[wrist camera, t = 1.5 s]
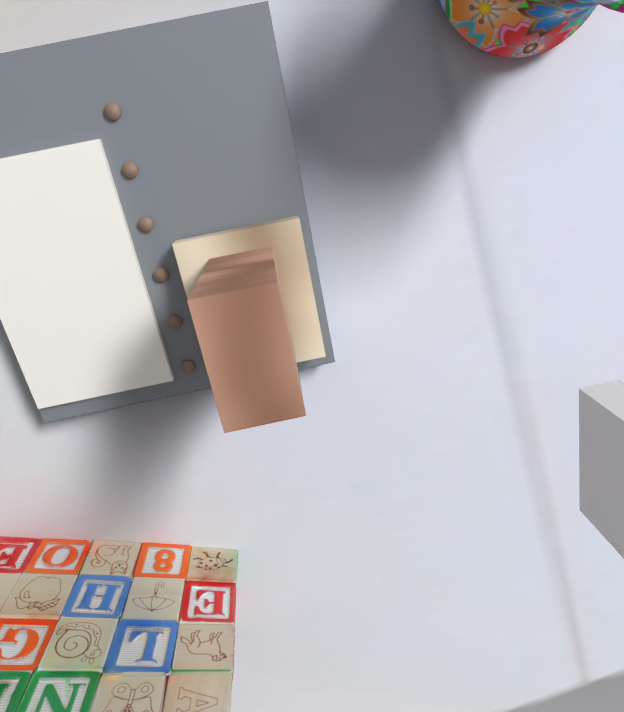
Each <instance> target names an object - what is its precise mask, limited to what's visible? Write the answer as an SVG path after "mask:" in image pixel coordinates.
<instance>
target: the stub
mask: <svg viewBox="0 0 624 712" xmlns="http://www.w3.org/2000/svg"><path fill="white" fill-rule="evenodd" d="M172 246H173V249H174V253H175V257H176V260H177V264H178V267H179V271H180V274H181V278H182V281H183V285H184V289H185V292H186V296H187V299H188V300H187V302H188V306H189V309H190V313H191V316H192V320H193V323H194V327H195V331H196V334H197V338H198V341H199V345H200V348H201V352H202V355H203V359H204V362H205V366H206V370H207V373H208V377H209V380H210V384H211V387H212V391H213V394H214V398H215V401H216V405H217V409H218V412H219V416H220V419H221V423H222V426H223V430H224V433H227V432H232V431H236V430H241V429H246V428H250V427H255V426H260V425H265V424H269V423H274V422H279V421H283V420H288V419H293V418H298V417H302V416H306V414H305V408H304V402H303V397H302V391H301V385H300V380H299V374H298V368H297V362H302V361H307V360H312V359H316V358H321V357H326V354H325V349H324V344H323V339H322V334H321V328H320V323H319V318H318V313H317V308H316V302H315V297H314V292H313V287H312V281H311V276H310V271H309V266H308V261H307V255H306V250H305V245H304V240H303V235H302V229H301V224H300V219H299V217H298V216H294V217H289V218H284V219H279V220H274V221H269V222H264V223H259V224H254V225H249V226H245V227H240V228H235V229H230V230H225V231H220V232H215V233H210V234H205V235H201V236H196V237H191V238H186V239H181V240H176V241H175V242H174V243H173V244H172Z"/></svg>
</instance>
